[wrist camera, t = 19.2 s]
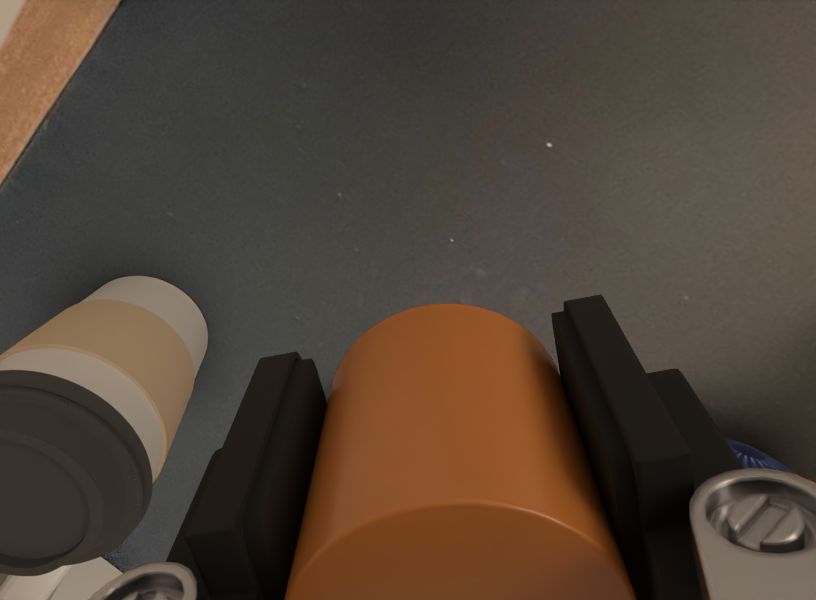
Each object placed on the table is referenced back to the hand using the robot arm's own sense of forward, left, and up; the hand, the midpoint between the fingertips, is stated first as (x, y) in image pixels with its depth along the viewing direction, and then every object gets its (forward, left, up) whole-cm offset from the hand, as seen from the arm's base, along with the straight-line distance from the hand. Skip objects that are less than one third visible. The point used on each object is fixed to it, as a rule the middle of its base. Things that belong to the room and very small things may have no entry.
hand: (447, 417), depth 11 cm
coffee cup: (+18, +8, -27) cm, 34 cm away
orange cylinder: (0, 0, 0) cm, 0 cm away
